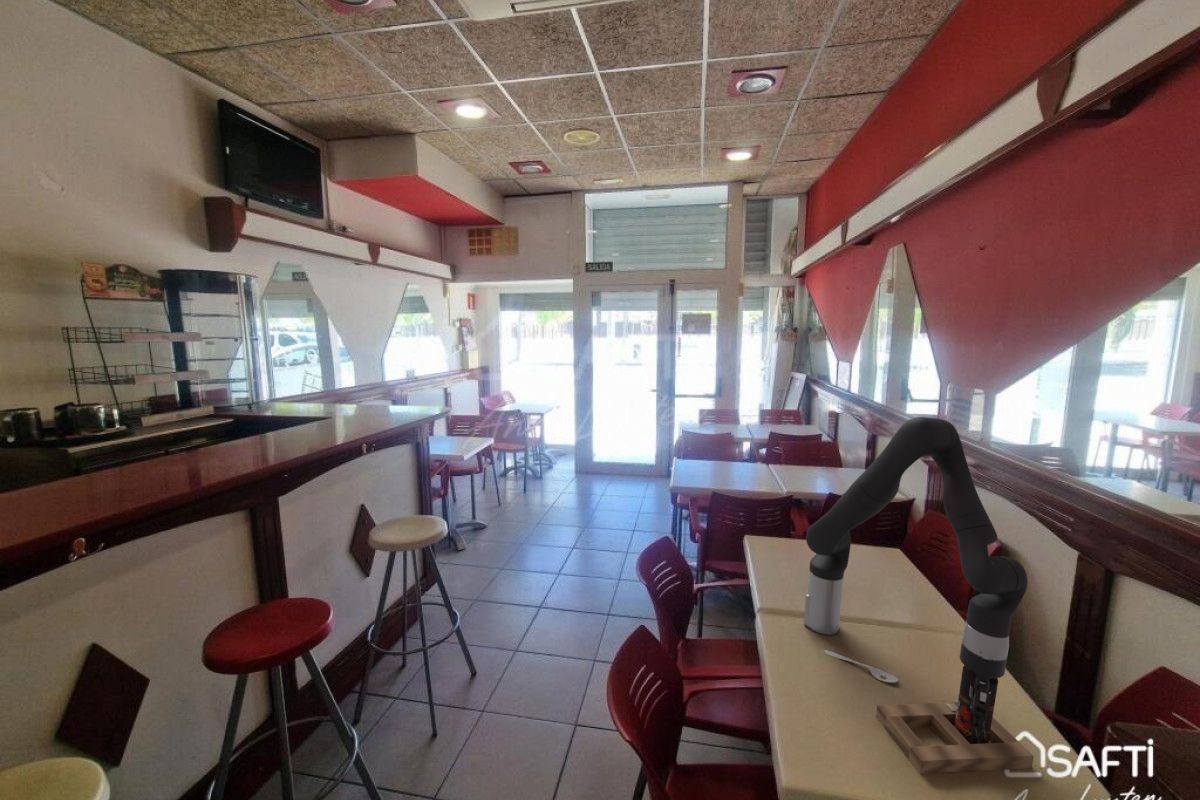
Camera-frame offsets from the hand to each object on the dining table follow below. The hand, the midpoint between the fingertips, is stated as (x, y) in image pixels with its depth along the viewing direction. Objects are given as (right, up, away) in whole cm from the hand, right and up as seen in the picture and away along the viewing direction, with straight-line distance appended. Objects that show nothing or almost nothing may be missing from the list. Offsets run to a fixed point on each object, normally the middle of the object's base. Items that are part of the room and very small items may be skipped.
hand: (973, 715), depth 102 cm
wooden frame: (-5, -6, +1) cm, 8 cm away
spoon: (-13, -3, +24) cm, 27 cm away
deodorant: (0, -5, +1) cm, 5 cm away
